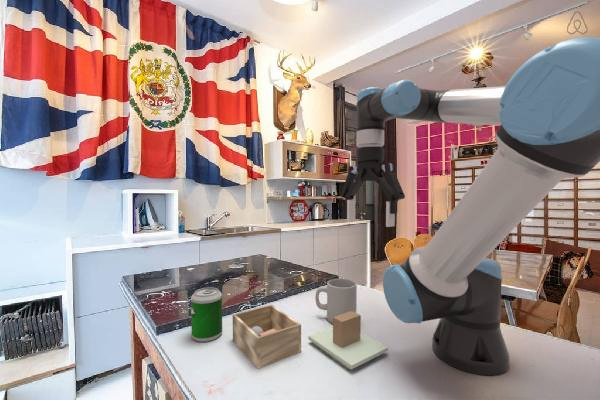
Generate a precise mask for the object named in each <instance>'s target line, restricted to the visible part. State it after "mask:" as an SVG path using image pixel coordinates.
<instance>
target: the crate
mask: <svg viewBox="0 0 600 400" xmlns="http://www.w3.org/2000/svg"><path fill="white" fill-rule="evenodd" d="M255 326H258V327H261V328H262V330H263V332H266V331H268V330H271V329H275V330H277V331H275V332H272V333H269V334H265V335H262V336H258V335H257V334H256V333H255V332H254V331H253V330H252V328H253V327H255ZM232 341H233V342H234V344H235V345H236V346H237V347H238V348H239V349H240V350H241V351H242V352H243V354H244V355H245V356H246V357H247V358H248V359H249V361H251V362H252V364H253V365H254V366H255V367H256V368H257V369H261V368H264V367H266V366H269V365H271V364H274V363H277V362H279V361H282V360H284V359H286V358H287V359H288V358H289V357H292V356H295V355H297V354H300V353H302V324H301V323H300V322H298V321H297V320H296V319H294V318H292V317H290V316H289V315H288V314H286V313H285V312H283V311H282V310H280V309H279V308H278V307H276V306H275V305H273V304H269V305H264V306H261V307H260V306H259V307H257V308H253V309H249V310H244V311H241V312H237V313H233V314H232Z"/></svg>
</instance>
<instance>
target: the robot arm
mask: <svg viewBox="0 0 600 400" xmlns="http://www.w3.org/2000/svg"><path fill="white" fill-rule="evenodd" d="M355 108H356V138H355V139H356V140H355V141H356V147H357V148H356V149H355V150H356V151H355V152H356V158H355V160H356V162H357V166H355V165H350V166H348V170H347V171H348V172H347V176H346V179H345V181H344V184H343V186H342V189H341V191H340V197H341V198H343V199H344V200H345V211H346V222H348V223H351V222H356V199H355V196H356V195H357V193H358V192H359V190H360V189H361V187H362V186H363V184H364V183H366V182H374V183H375V182H376V183H377V185H378V186H379V187H380V189H381V191H382V192H383V193H384V195H385V196H386V197H387V199H388V200H387V201H386V202H385V204H386V208H385V227H386V228H387V227H388V228H391V227H395V226H396V225H395V224H396V223H395V222H396V215H397V214H398V202H399V201H400V200H403V199H405V198H406V196H405V193H404V191H403V188H402V186H401V183H400V181H399V179H398V177H397V175H396V171H395V165H394V163H390V162H389V163H388V162H386V163H384V160H385V148H384V145H385V130H386V129H385V124H386V122H387V121H390V120H393V119H398V120H399V119H400V120H413V121H423V122H424V121H425V122H433V123H442V124H444V123H453V124H465V125H466V124H468V125H470V124H471V125H482V126H483V125H485V126H497V127H498V129H497V130H496V131H495V135H494V136H495V139H496V144H497V149H496V150H495V152H494V153H493V155H492V156H491V157H490V159H489V160H488V162H486V164H485V165H484V167H483V168H482V170H481V171H480V173H479V174H478V175H477V176H476V178H475V179H474V180H473V182H472V184H470V186H469V188H468V189H467V190H466V191H465V193H464V194H463V196H462V197H461V199H460V200H459V201H458V202H457V203H456V205H455V207H454V208H453V209H452V211H451V212H450V213H449V215H447V218H445V220H444V222H443V223H442V224H441V226H440V227H439V228H438V230H437V231H436V233H435V234H434V235H433V236H432V238H431V239H430V241H429V242H428V243H427V245H426V246H420V247H417V248H415V249H413V251H412V252H410V254H409V255H408V257H407V258H406V260H405V261H404V262H403V263H401V264H398V263H397V264H392V265H389V266H388V267H387V268H386V269H385V271H384V273H383V276H382V286H383V287H382V288H383V294H384V297H385V300H386V303H387V305H388V308H389V309H390V311H391V312H392V314H393V315H394V316H395V317H396V318H397V320H398V321H399V320H400V321H401V322H403V323H405V324H421V323H423V322H427V321H433V320H439V321H438V323H437V326H436V328H435V330H434V333H433V336H432V341H431V342H432V351H433V352H434V355H435V356H437V357H438V359H440V360H441V361H442V362H445V363H446V364H448V365H449V366H452V367H453V368H456V369H458V370H461V371H463V372H467V373H471V374H475V375H482V376H497V375H502V374H504V373H506V372H507V371H508V370H509V368H510V353H509V351H508V348H507V344H506V342H505V340H504V335H503V333H502V330H501V313H502V312H501V311H502V310H501V308H502V281H503V277H502V266H501V264H500V263H499V262H498V261H497V260H495V259H493V258H489V257H488V256H489V255H490V254H491V253H492V252H493V251H494V250H495V248H497V247H498V246H499V245H500V244H501V242H503V241H504V240H505V239H506V237H508V235H510V234H511V232H512V231H513V230H514V229H515V228H516V227H517V226H518V225H519V224H520V223H521V222H522V221H523V220H525V218H526V217H527V216H528V215H529V214H530V213H531V212H532V211H533V209H535V208H536V207H537V206H538V205H539V204H540V203H541V201H542V200H544V199H545V198H546V197H547V195H549V193H550V192H551V191H552V190H553V189H554V188H555V187H556V186H557V185H558V184H560V182H561V181H562V180H566V179H574V178H582V177H585V176H586V175H587V174H589V172H591V171H592V170H593V169H594V168H595V166H597V164H599V162H600V37H595V36H593V37H592V36H591V37H590V36H587V37H576V38H571V39H566V40H564V41H563V40H562V41H560V42H557V43H555V44H554V45H552V46H549V47H546V48H544V49H542V50H540V51H539V52H537V53H536V54H535V55H533V56H531V57H530V58H529V59H527V61H525V62H524V63H523V64H522V65H521V66H519V68H517V70H516V71H515V72H514V73H513V74H512V76H511V77H510V79H509V80H508V82H507V83H506V85H501V86H489V87H473V88H472V87H471V88H457V89H456V88H455V89H443V90H437V89H435V90H434V89H427V88H421V87H419V86H418V84H416V83H415V82H413V80H411V79H401V80H399V81H396V82H393V83H391V84H390V85H388V86H386V87H385V88H381V87H376V86H371V87H367V88H362V89H360V91H358V93H357V97H356V105H355ZM383 172H384V173H385V176H386V177H385V176H384V174H383ZM386 178H387V180H386ZM395 214H396V215H395Z"/></svg>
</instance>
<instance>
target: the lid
mask: <svg viewBox="0 0 600 400" xmlns="http://www.w3.org/2000/svg"><path fill="white" fill-rule="evenodd" d="M361 328H362V327H361V314H359V313H357V312H356V313H355V312H353V311H349V312H346V313H344V314H341V315H338V316H335V317H333V325H332V326H331V327H328V328H325V329H323V330H320V331H317V332H314V333H312V334H309V335H307V337H308V338H307V339H308V340H309V341H311V342H312V343H313V344H314V345H315V344H316V345H318V346H319V347H320V348H322V349H323V350H325V351H326V352H328V353H329V354H330V355H332V356H333V357H335V358H336V359H338V360H339V361H340V362H342V363H343V364H345V365H346V366H348V367H349V368H350V369H349V370H353V369H355V368H357V367H359V366H361V365H363V364H365V363H367V362H369V361H371V360H373V359H375V358H377V357H379V356H381V355H383V354H385V353H387V352H388V351H389V347H388V346H386V345H385V344H383V343H381V342H379V341H377V340H375V339H374V338H372V337H369V336H368V335H366V334H365V333H363V332H361ZM316 345H315V346H316ZM319 347H318V348H319ZM320 348H319V349H320ZM323 350H322V351H323ZM326 352H325V353H326ZM330 355H329V356H330Z"/></svg>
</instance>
